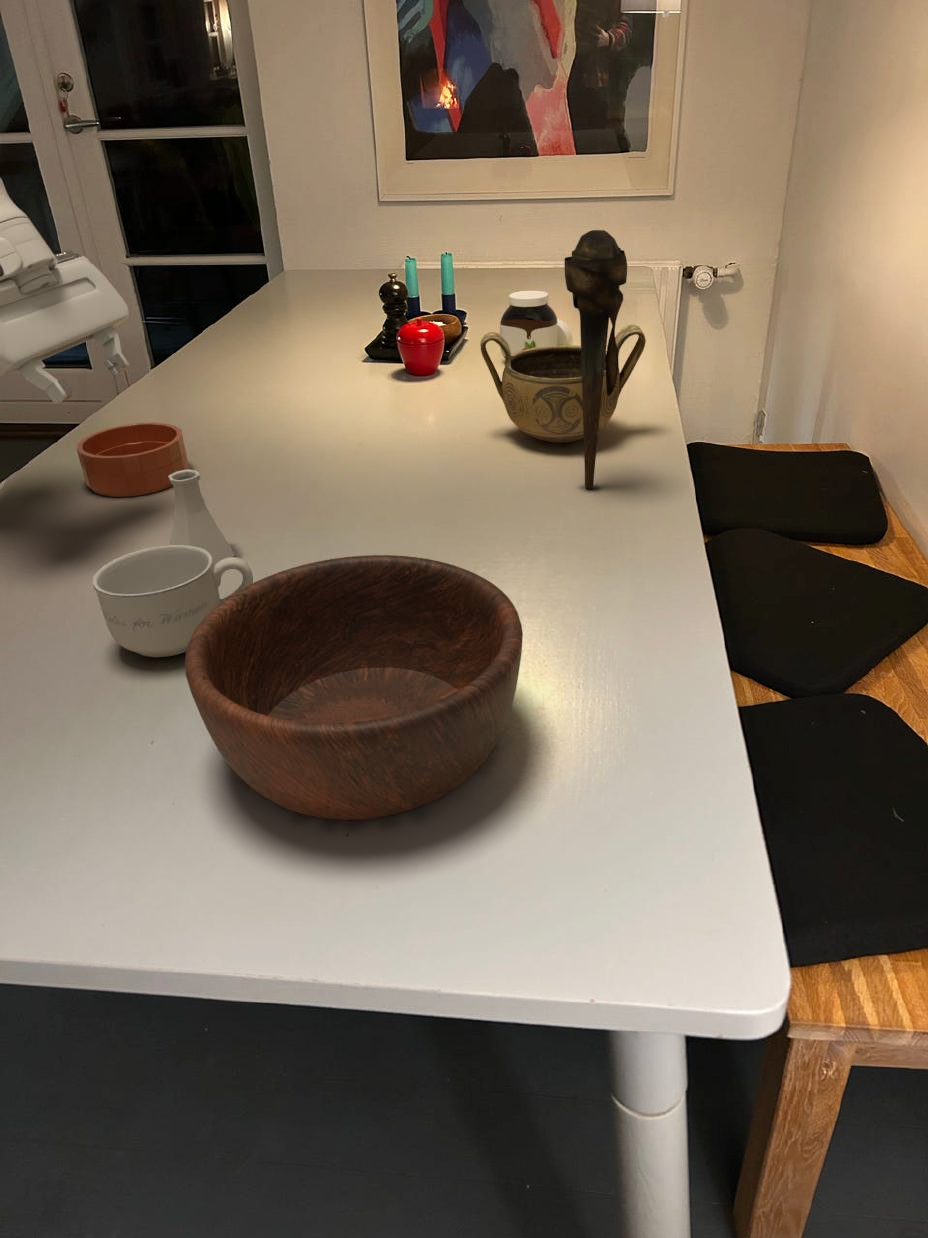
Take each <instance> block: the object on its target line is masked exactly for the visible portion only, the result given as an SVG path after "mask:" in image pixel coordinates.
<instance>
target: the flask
mask: <svg viewBox="0 0 928 1238" xmlns="http://www.w3.org/2000/svg"><path fill="white" fill-rule="evenodd" d="M168 477H169V480H170V482H171V483H172V484H173V486H172V487H173V491H174V492H173V493H174V515H173V522H172V528H171V529H172V530H171V534H170V539H169V545H185V546H186V545H188V546H194V547H199V548H202V549H204V550H206V551H207V552H208V553H209V554H210V555H211V556H212V558H213V565H216V564H217V563H218V562H219V561H221V560H223V559H225V558H229V557H235V556H236V554H235V551H233V549H232V547H231V545H230V543H228V540H227V539H226V537H225V536H224V534H223V532H222V531H221V529H220V528H219V526H218V525H217V523H216V521H215V519H214V518H213V516H212V514H211V512H210V510H209V509H208V507H207V505H206V502H205V499H204V497H203V495H202V492H201V488H200V483H199V481H200V480H201V474H200V473H199V471H198V470H194V469H190V468H189V469H187V470H182V471H177V472H175V473H173V474H171V475H169V476H168Z"/></svg>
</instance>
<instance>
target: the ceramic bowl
mask: <svg viewBox="0 0 928 1238" xmlns="http://www.w3.org/2000/svg"><path fill="white" fill-rule="evenodd" d="M632 336H638V338H637V340H636V342H635V344H634V346H633V348H632V350H631V352H630V353H629V355H628V357H627V359H626V361H625V363H624V364H623V367H622V368H621V370H620V366H619V367H618V374H617V379H616V384H615V388H614V389H613V391H612V392H611V394H610V395H608V396H607V386H606V356H605V366H604V377H603V387H602V398H601V408H600V418H599V429H598V431H600V430H601V429H602V428H603V427H604V426H605V425H606V424H607V423H608V422H609V421H610V420H611V418H612V416H613V415H614V413H615V410H616V408H617V406H618V401H619V397H620V395H621V393H622V390H623V389H624V387H625V385H626V383H627V382H628V380H629V378H630V377H631V374H632V372H633V371H634V370H635V367H636V365H637V364H638V362H639V360H640V357H641V356H642V354H643V353H644V349H645V347H646V341H647V339H646V335H645V333H644V332H643V330H642V329H641V327H640V326H638V325H636V324H627V325H626V326H624V327H622V328H621V329H620V330H619V332H618V333H617V334H615V340H616V346H617V352H618V356H620V355H619V354H620V350H621V348H622V346H623V345H624V343H626V341H627V340H628V339H629V338H630V337H632ZM490 341H493V342H495V343H496V344H497V345H498V346H499V347H500V349H501V348H502V350H503V351H504V353H505V355H506V359H505V361H504V368H503V371H502V376H501V378H500V375H499V373H498V371H497V369H496V367H495V365H494V363H493V361H492V359H491V357H490V355H489V352H488V350H487V347H486V345H487V344H488V343H489V342H490ZM480 352H481V355H482V358H483V360H484V362H485V364H486V367H487V368H488V371H489V374H490V376H491V378H492V380H493V383H494V385H495V389H496V391H497V393H498V395H499V397H500V399H501V400H502V403H503V405H504V407H505V411H506V413H507V415H508V417H509V419H510V421H511V422H512V423H513V424H514V426H516V428H518V429H519V430H520V431H522V432H523V433H525V434H527V435H528V436H529V437H531V438H534V439H537V440H539V441H543V442H549V443H553V444H567V443H573V442H577V441H580V440H582V439H583V440H584V430H583V397H582V365H581V345H574V344H572V345H569V346H568V345H556V346H543V347H536V348H531V349H526V350H523V351H520V352H517V353H515V354H513V355H512V356H511V353H510V349H509V346H508V343H507V342H506V341H505V339H504V338H503V337H502V336H501V335H500V333H498V332H495V331H489V332H487V333H485V334H484V335H483V337H482V338H481V339H480ZM606 354H607V350H606Z"/></svg>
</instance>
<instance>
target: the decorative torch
mask: <svg viewBox="0 0 928 1238" xmlns="http://www.w3.org/2000/svg"><path fill="white" fill-rule="evenodd" d="M627 278H628V262H627V255H626V252H625V250H623V249H621V248H620V247H619V245H618V243H617V240H616V239H615V238H614V237H613V236H612V235H611V234H610V233H609V232H608V231H607V230H604V229H592V230H589V231H587V232H585V233H584V234H582V235H581V236H580V237H579V240H578V241H577V244H576V246H575V248H574V250H572V251H571V256H566V257H564V280H565V286H566V290H567V292H569V293H571V294H572V305H573V307H574V309H577V310H578V312H579V327H580V329H579V331H580V332H579V333H580V346H581V365H582V397H583V430H584V438H583V456H584V457H583V458H584V459H583V460H584V486H585V489H592V488H594V483H595V471H596V470H595V469H596V460H597V449H598V438H599V430H600V429H599V418H600V408H601V398H602V387H603V377H604V366H605V356H606V386H607V396H608V395H610V394H611V392H612V391H613V389H614V388H615V384H616V379H617V374H618V367H619V368H620V365H619V363H620V362H619V355H618V352H617V346H616V340H615V337H616V325H617V324H616V323H617V319H618V316H619V312H620V309H621V307H622V304H623V302H624V293H623V292H622V290H621V289H620V286H623V285H626V284H627V281H628V280H627ZM609 323H611V325H612V326H611V329H610V334H608V333H609ZM608 335H609V338H608ZM606 351H607V354H606ZM598 429H599V430H598Z"/></svg>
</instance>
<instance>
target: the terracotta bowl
mask: <svg viewBox="0 0 928 1238" xmlns="http://www.w3.org/2000/svg"><path fill="white" fill-rule="evenodd" d="M76 452H77V456H78V459H79V463H80V466H81V471H82V474H83V478H84V482H85V484H86V486H87V487H88V488H89V489H90V490H91V491H93V493H95V494H98V495H101V496H105V497H113V498H114V497H117V498H121V497H122V498H128V497H134V496H136V497H138V496H143V495H149V494H152V493H156V492H160V491H162V490H166V489H168V488H171V487H173V484H172V483H171V482H170V480H169V477H168V476H169V475H171V474H173V473H175V472H177V471H182V470H187V469H190V465H189V460H188V454H187V450H186V445H185V440H184V435H183V431H182V429H181V428H180V427H178V426H176V425H173V424H169V423H163V422H162V423H161V422H135V423H129V424H121V425H117V426H112V427H109V428H105V429H102V430H99V431H96V432H94V433H92V434H89V435H88V436H85V437H84V438H82V439H81V440H80V441H79V442H78V443H77V446H76Z"/></svg>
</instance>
